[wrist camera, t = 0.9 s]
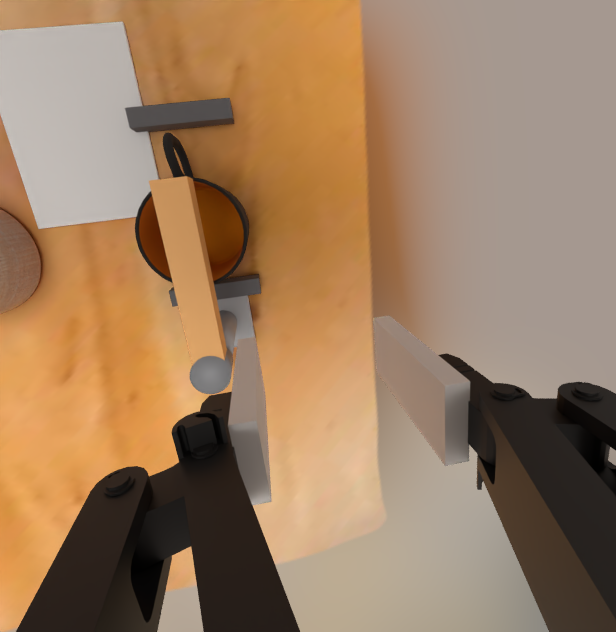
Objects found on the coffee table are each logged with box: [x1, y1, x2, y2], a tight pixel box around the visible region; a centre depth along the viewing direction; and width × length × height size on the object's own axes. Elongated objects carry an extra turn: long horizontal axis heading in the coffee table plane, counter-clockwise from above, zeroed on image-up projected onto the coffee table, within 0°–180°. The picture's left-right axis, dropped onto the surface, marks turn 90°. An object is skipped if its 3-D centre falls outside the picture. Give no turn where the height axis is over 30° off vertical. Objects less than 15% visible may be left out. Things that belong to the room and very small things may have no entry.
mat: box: [0, 22, 159, 229], centre depth 34 cm, size 16×12×1 cm
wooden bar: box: [149, 176, 233, 394], centre depth 27 cm, size 16×3×3 cm, turn 7°
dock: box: [125, 98, 261, 356], centre depth 33 cm, size 24×9×11 cm, turn 7°
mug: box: [135, 133, 249, 284], centre depth 32 cm, size 8×12×10 cm
